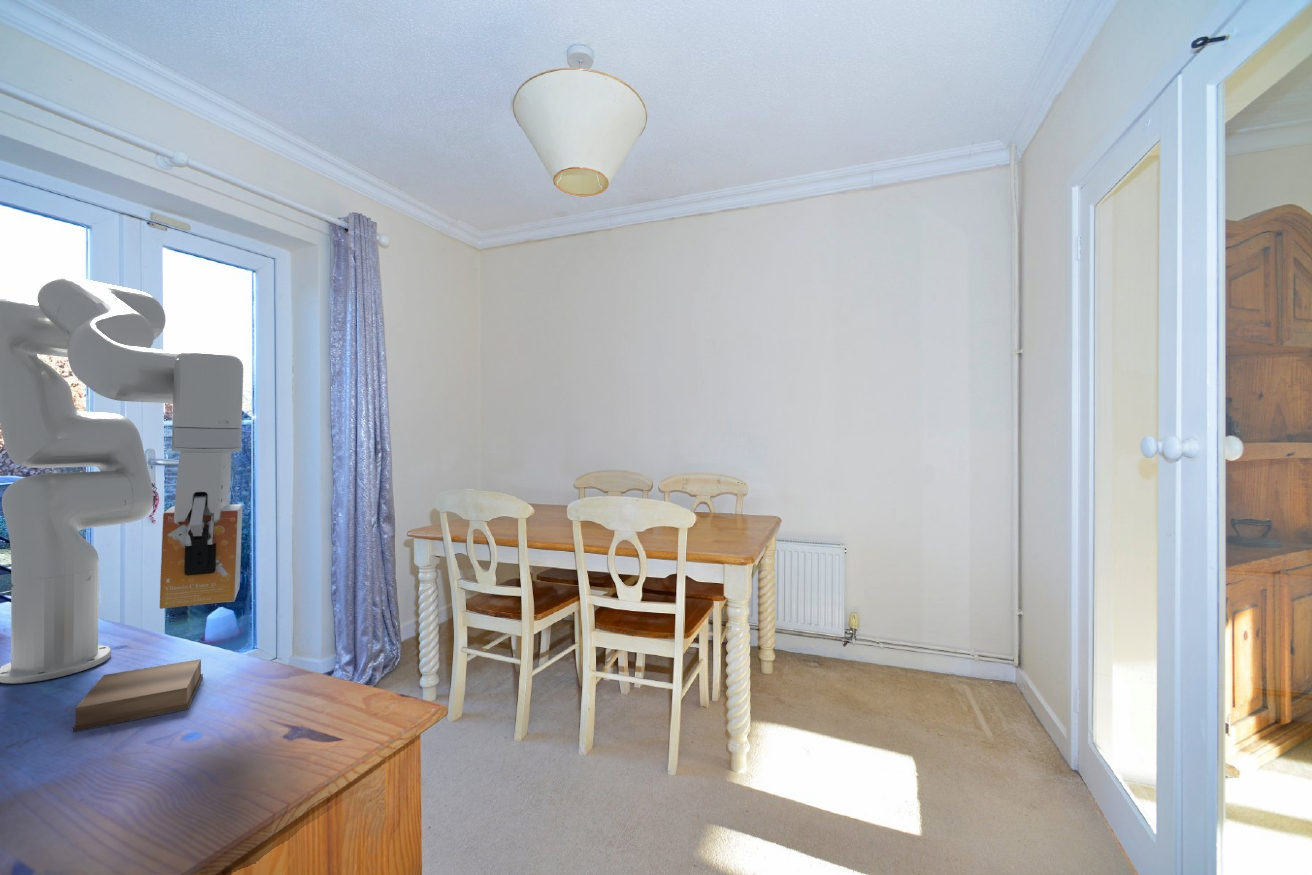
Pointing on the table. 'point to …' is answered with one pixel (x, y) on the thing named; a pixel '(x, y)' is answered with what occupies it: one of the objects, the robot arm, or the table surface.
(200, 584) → the small box
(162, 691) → the plinth
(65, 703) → the table surface
